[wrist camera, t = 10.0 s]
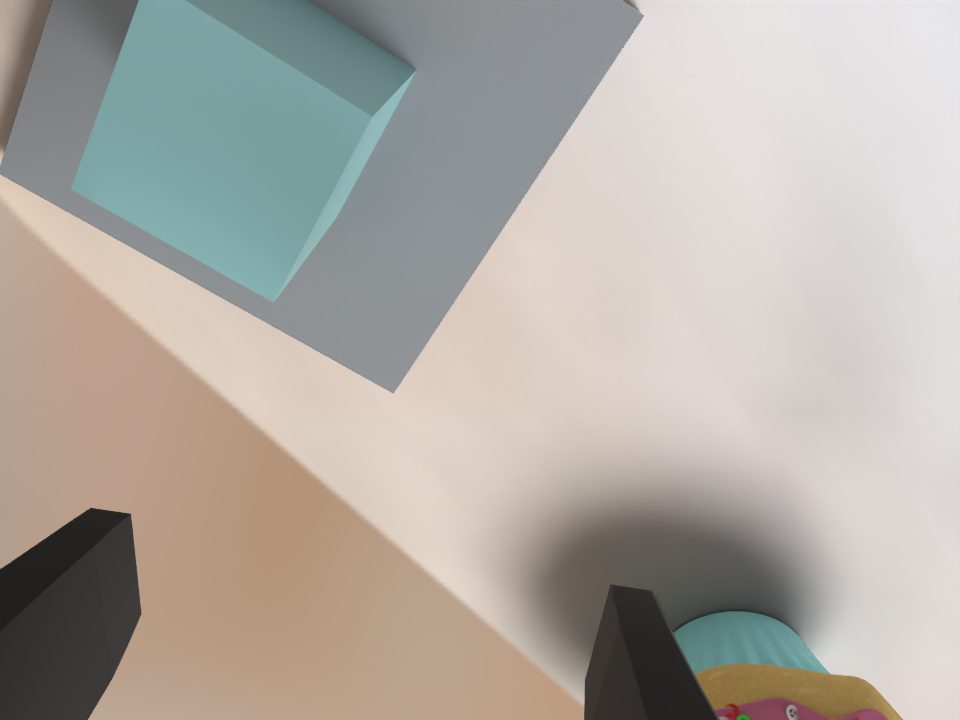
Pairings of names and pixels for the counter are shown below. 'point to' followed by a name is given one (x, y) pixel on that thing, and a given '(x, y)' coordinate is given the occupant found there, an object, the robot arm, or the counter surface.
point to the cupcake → (771, 673)
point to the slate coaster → (387, 173)
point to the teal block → (239, 130)
